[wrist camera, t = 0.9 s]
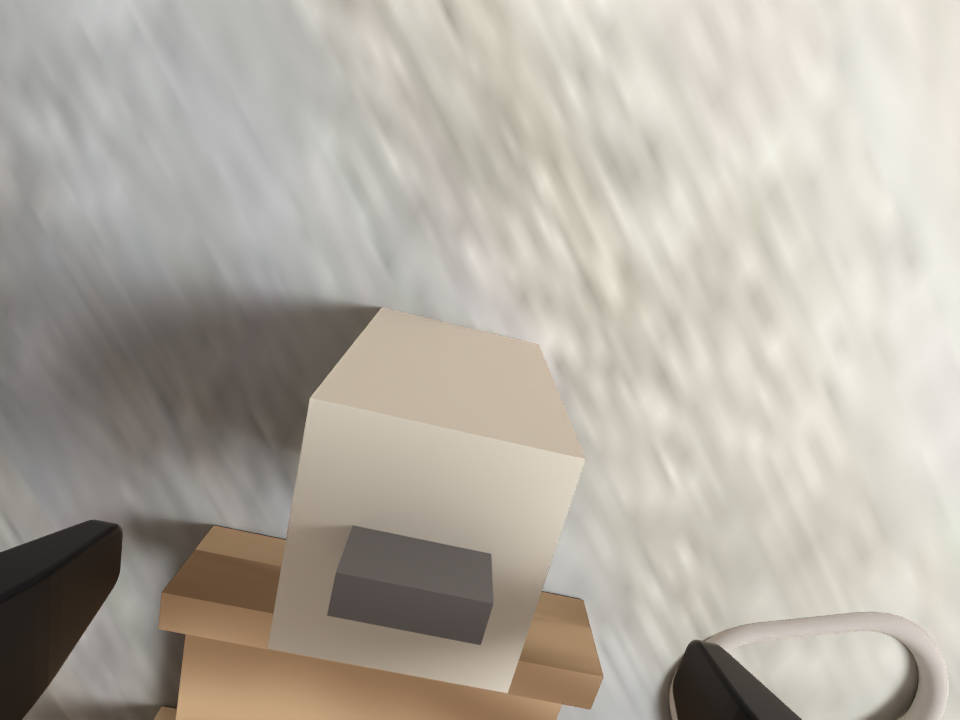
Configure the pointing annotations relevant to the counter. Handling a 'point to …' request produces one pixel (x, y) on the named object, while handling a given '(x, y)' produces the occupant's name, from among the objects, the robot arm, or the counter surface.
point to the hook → (929, 659)
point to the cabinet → (426, 504)
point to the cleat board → (335, 685)
